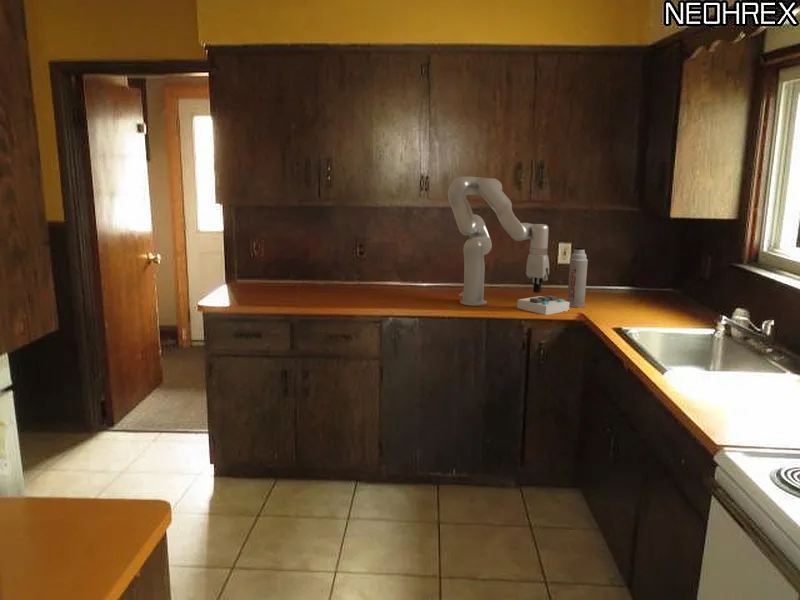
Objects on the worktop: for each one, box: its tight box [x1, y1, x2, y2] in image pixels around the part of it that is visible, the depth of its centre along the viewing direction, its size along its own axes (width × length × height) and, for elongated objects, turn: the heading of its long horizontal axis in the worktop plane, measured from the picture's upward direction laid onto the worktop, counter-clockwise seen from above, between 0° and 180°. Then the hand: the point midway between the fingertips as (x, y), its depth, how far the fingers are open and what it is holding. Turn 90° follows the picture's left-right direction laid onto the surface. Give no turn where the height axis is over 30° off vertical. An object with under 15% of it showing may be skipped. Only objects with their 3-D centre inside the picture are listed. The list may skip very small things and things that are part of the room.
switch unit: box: [516, 295, 570, 316], centre depth 303 cm, size 17×16×5 cm
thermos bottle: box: [566, 246, 589, 308], centre depth 309 cm, size 8×8×28 cm
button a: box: [529, 297, 542, 304], centre depth 300 cm, size 4×3×4 cm
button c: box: [544, 294, 558, 301], centre depth 306 cm, size 4×3×4 cm
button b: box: [537, 296, 550, 302], centre depth 303 cm, size 4×3×4 cm
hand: (537, 292), depth 299 cm, fingers closed
